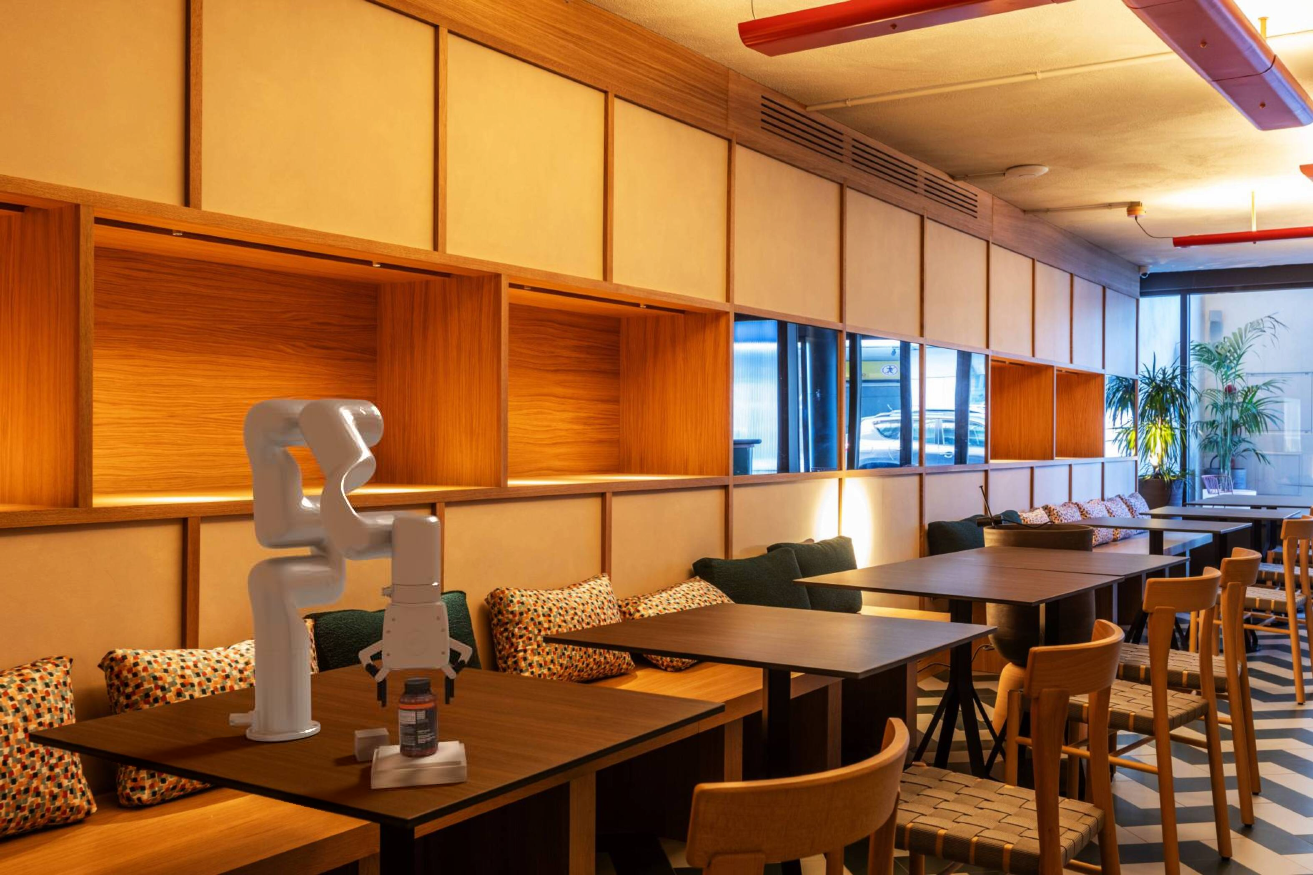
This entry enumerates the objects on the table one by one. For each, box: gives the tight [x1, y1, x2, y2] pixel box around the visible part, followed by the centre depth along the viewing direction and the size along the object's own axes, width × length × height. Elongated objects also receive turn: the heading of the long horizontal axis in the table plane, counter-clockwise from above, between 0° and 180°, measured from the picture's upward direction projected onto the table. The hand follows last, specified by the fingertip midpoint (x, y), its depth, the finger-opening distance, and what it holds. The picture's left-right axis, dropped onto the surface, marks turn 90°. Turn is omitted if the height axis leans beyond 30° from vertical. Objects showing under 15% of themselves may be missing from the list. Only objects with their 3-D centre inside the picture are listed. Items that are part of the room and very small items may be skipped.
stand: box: [370, 740, 468, 790], centre depth 177 cm, size 14×14×3 cm
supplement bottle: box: [398, 677, 439, 757], centre depth 177 cm, size 6×6×11 cm
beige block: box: [354, 727, 390, 762], centre depth 188 cm, size 5×5×4 cm
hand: (415, 703), depth 178 cm, fingers open, 9 cm apart
